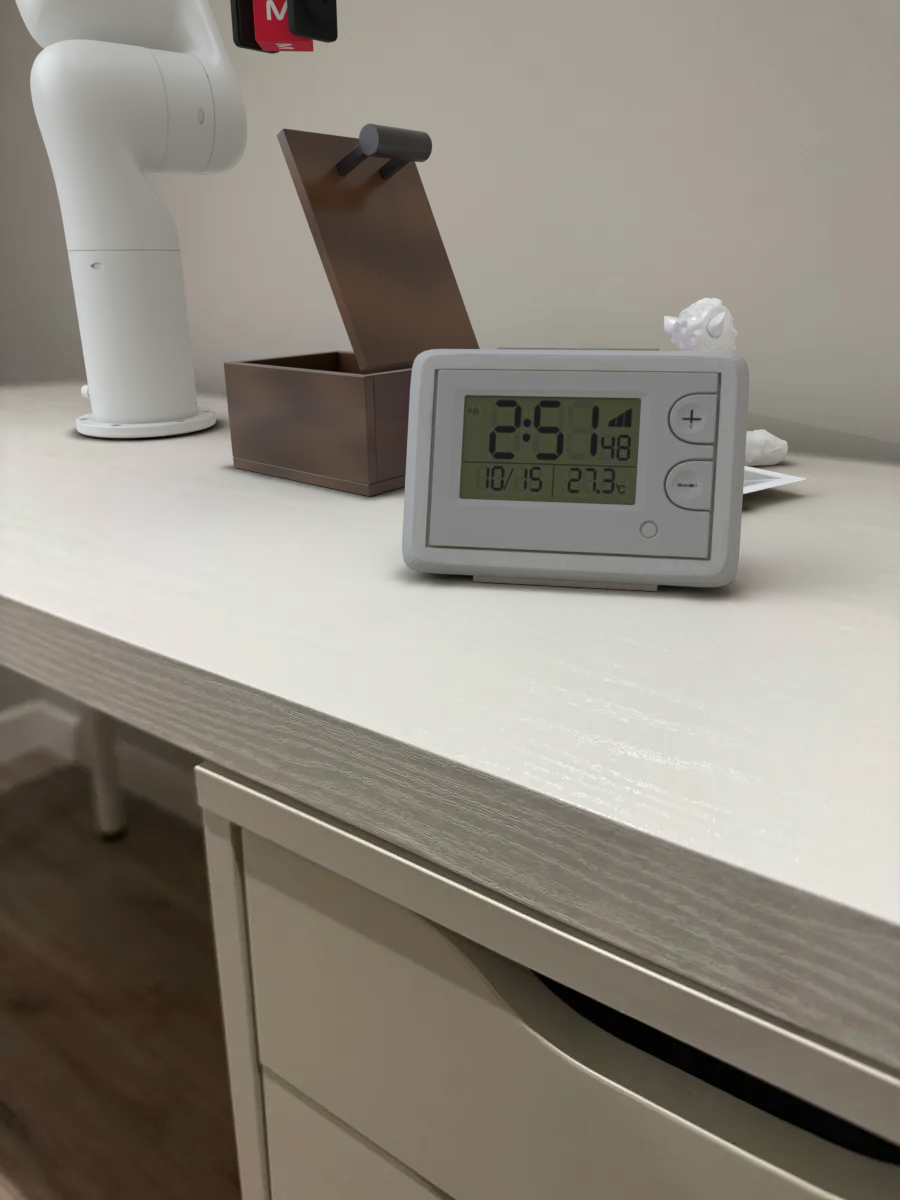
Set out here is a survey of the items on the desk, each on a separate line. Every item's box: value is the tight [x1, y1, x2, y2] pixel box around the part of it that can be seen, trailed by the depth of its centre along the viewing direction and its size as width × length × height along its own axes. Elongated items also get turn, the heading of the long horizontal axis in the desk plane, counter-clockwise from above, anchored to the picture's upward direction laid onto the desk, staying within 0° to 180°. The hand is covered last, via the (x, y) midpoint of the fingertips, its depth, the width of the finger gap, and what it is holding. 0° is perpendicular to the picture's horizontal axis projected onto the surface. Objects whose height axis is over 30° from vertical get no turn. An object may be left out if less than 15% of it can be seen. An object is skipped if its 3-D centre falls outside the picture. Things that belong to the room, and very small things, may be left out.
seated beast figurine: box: [663, 297, 789, 467], centre depth 66 cm, size 10×9×12 cm
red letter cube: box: [253, 0, 315, 53], centre depth 51 cm, size 3×3×3 cm
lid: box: [276, 123, 481, 371], centre depth 58 cm, size 15×12×5 cm
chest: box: [223, 349, 413, 497], centre depth 66 cm, size 15×12×8 cm
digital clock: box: [401, 347, 750, 592], centre depth 42 cm, size 16×9×11 cm, turn 69°
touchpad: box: [743, 466, 809, 495], centre depth 57 cm, size 8×15×2 cm, turn 125°
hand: (284, 40), depth 52 cm, fingers closed on red letter cube, 4 cm apart
